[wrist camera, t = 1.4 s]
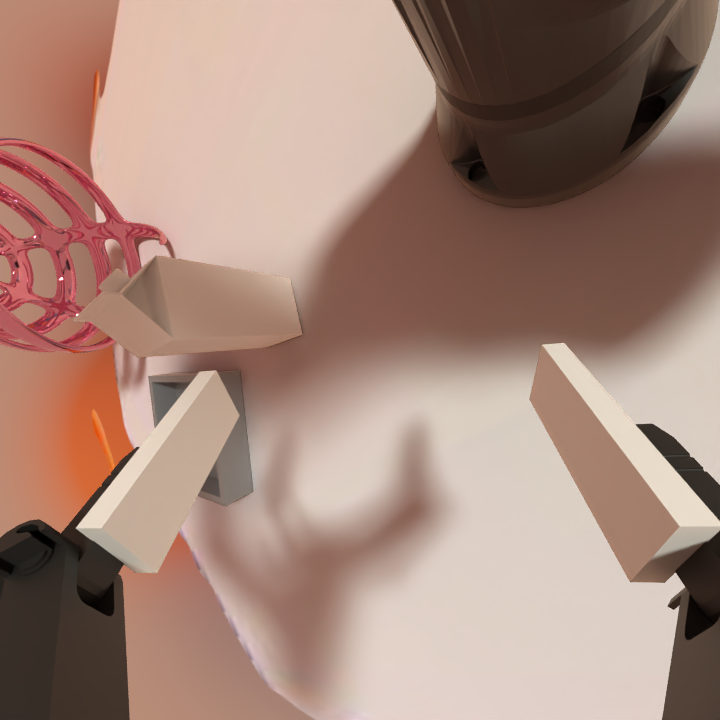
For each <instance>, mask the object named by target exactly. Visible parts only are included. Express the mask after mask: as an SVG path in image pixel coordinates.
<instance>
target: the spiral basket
mask: <svg viewBox="0 0 720 720" xmlns="http://www.w3.org/2000/svg"><path fill="white" fill-rule="evenodd" d="M0 146H13V147H19V148H22V149H25V150H28V151H31V152H33V153H35V154H37V155H39V156H42V157H43V158H45V159H47V160H49V161H51V162H52V163H53V164H55V165H57V166H58V167H59V168H61V169H62V170H63V171H65V172H66V173H67V174H69V175H70V176H71V177H72V178H73V179H75V181H77V182H78V183H79V184H80V185H81V186H82V187H83V188H84V189H85V190H86V191H87V192H88V194H89V195H90V196H91V197H92V198H93V199H94V201H95V202H96V203H97V205H98V206H99V207H100V209H101V210H102V211H103V213H104V215H105V217H106V222H104V223H97V222H94V221H93V220H92V219H90V218H89V217H88V216H87V214H86V213H85V212H84V210H83V209H82V208H81V207H80V206H79V204H78V203H77V202H76V201H75V199H74V198H73V197H72V196H71V195H70V194H69V193H68V192H67V191H66V190H65V189H64V188H63V187H62V186H61V185H60V184H59V183H57V182H56V181H55V180H54V179H53V178H51V177H50V176H49V175H47V174H46V173H45V172H43V171H42V170H40V169H39V168H37V167H36V166H34V165H32V164H31V163H29V162H28V161H26V160H24V159H21V158H20V157H18V156H16V155H13V154H11V153H9V152H6V151H4V150H0V164H1V165H4V166H6V167H8V168H10V169H12V170H14V171H16V172H18V173H19V174H21V175H23V176H24V177H26V178H28V179H29V180H31V181H32V182H33V183H35V184H36V185H37V186H39V187H40V188H41V189H43V190H44V191H45V192H46V193H47V194H48V195H49V196H51V197H52V198H53V199H54V200H55V201H56V202H57V203H58V204H59V205H60V206H61V208H62V209H63V210H64V211H65V212H66V213H67V215H68V216H69V217H70V219H71V221H72V226H71V227H69V228H65V229H62V228H58V227H56V226H54V225H53V224H52V223H51V222H50V221H49V220H48V219H47V218H46V216H45V215H44V214H43V213H42V212H41V211H40V210H39V209H38V208H37V207H36V206H34V205H33V204H32V203H31V202H30V201H29V200H27V199H26V198H25V197H24V196H22V195H21V194H19V193H18V192H16V191H15V190H13V189H12V188H10V187H8V186H7V185H5V184H3V183H1V182H0V201H1V202H3V203H4V204H6V205H7V206H9V207H10V208H12V209H13V210H14V211H15V212H17V213H18V214H19V215H20V216H21V217H23V218H24V219H25V220H26V221H27V222H28V223H29V224H30V225H31V226H32V228H33V229H34V231H35V234H34V235H33V236H31V237H29V238H24V239H20V238H16V237H15V236H13V235H12V234H11V233H10V232H9V231H8V230H7V229H6V228H5V227H4V226H2V225H1V224H0V255H2V256H5V257H6V258H7V260H8V262H9V265H10V268H11V281H10V283H4V282H1V281H0V289H1V290H2V291H3V293H2V294H1V295H0V345H3V346H6V347H10V348H14V349H18V350H24V351H31V352H63V353H84V352H91V351H95V350H99V349H102V348H105V347H108V346H110V345H112V344H114V343H115V342H116V341H115V340H114V339H112V338H111V337H110V336H109V337H107V338H106V339H105V340H103V341H101V342H99V343H97V344H94V345H90V346H79V345H81V344H83V343H84V342H86V341H88V340H89V339H91V338H92V337H93V336H94V335H95V334H96V333H97V332H98V331H99V330H100V329H99V328H98V327H96V326H95V325H94V324H92V323H91V322H85V324H84V325H83V327H82V328H81V329H80V330H79V331H77V332H76V333H75V334H73V335H72V336H70V337H69V338H67V339H65V340H62V341H59V342H58V341H55V340H53V339H50V338H48V337H46V336H44V335H43V334H46V333H48V332H50V331H52V330H53V329H55V328H56V327H57V326H59V325H60V324H61V323H62V322H63V321H64V320H66V319H67V318H70V317H76V316H77V315H78V314H79V313H80V312H81V311H82V310H83V309H84V308H85V307H83V306H79V305H77V304H76V302H75V297H76V289H77V287H76V286H77V282H76V273H75V268H74V264H73V261H72V258H71V256H70V253H69V249H68V247H69V245H70V244H71V243H75V242H79V243H83V244H84V245H86V247H87V248H88V250H89V252H90V254H91V257H92V260H93V264H94V268H95V273H96V283H97V291H96V292H97V293H96V297H97V296H98V295H99V294H100V293H101V292H102V290H100V289H99V288H98V287H99V285H100V284H101V283H102V282H103V281H104V280H105V279H106V278H107V277H108V276H109V275H110V274H111V273H112V270H111V265H110V261H109V258H108V255H107V252H106V249H105V241H106V240H107V239H114V240H116V241H117V242H118V243H119V244H120V246H121V248H122V250H123V253H124V257H125V261H126V265H127V270H128V276H129V277H130V278H131V277H132V276H133V275H134V274H135V273H137V272H138V271H139V270H140V269H141V267H140V262H139V258H138V254H137V251H136V248H135V244H134V239H135V238H137V237H152V238H158V239H160V241H159V244H160V245H164V244H166V242H167V238H166V236H165V234H164V233H163V232H162V231H161V230H160V229H158V228H156V227H154V226H151V225H147V224H141V223H132V222H128V221H126V220H125V219H124V218H123V217H122V216H121V215H120V214H119V212H118V211H117V209H116V208H115V206H114V205H113V204H112V202H111V201H110V200H109V198H108V197H107V196H106V194H105V193H104V192H103V191H102V190H101V189H100V187H99V186H98V185H97V184H96V183H95V182H94V181H93V180H92V179H91V178H90V177H89V176H88V175H87V174H85V173H84V172H83V171H82V170H81V169H80V168H78V167H77V166H76V165H75V164H73V163H72V162H70V161H69V160H68V159H66V158H64V157H63V156H61V155H59V154H58V153H56V152H54V151H52V150H50V149H48V148H46V147H44V146H41V145H39V144H36V143H33V142H30V141H26V140H22V139H18V138H12V137H2V136H0ZM34 248H44V249H46V250H47V251H48V252H49V253H50V255H51V257H52V260H53V263H54V266H55V270H56V277H57V289H56V294H55V296H54V297H53V298H44V297H41V296H38V295H36V294H35V293H34V292H33V290H32V288H33V281H34V279H33V278H34V277H33V270H32V266H31V263H30V260H29V258H28V255H27V253H28V251H29V250H31V249H34ZM24 303H32V304H35V305H38V306H40V307H42V308H44V309H45V310H46V312H45V314H44V315H43V316H42V317H41V318H39V319H38V320H36V321H34V322H32V323H30V324H27V325H26V324H25V323H23V322H22V321H20V320H19V319H18V318H17V317H16V316H15V315H13V314H12V313H11V311H13V310H15V309H17V308H19V307H20V306H21V305H23V304H24ZM8 339H20V340H22V341H24V342H27V343H29V344H23V343H18V342H15V341H11V340H8ZM30 344H31V345H30Z"/></svg>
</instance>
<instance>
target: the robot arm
mask: <svg viewBox="0 0 720 720" xmlns="http://www.w3.org/2000/svg"><path fill="white" fill-rule="evenodd" d="M392 1H393V3H394V5H395V7H396V9H397V11H398V12H399V14H400V16H401V18H402V20H403V22H404V24H405V26H406V27H407V29H408V31H409V33H410V35H411V37H412V39H413V41H414V43H415V44H416V46H417V48H418V50H419V52H420V54H421V56H422V58H423V60H424V62H425V63H426V65H427V67H428V69H429V71H430V73H431V74H432V76H433V78H434V80H435V82H436V106H437V127H438V135H439V140H440V144H441V147H442V150H443V153H444V156H445V158H446V160H447V162H448V164H449V166H450V167H451V169H452V170H453V172H454V173H455V174H456V176H457V177H458V179H459V180H460V181H461V183H462V184H463V185H464V186H465V187H466V188H467V189H468V190H469V191H471V192H472V193H473V194H475V195H476V196H478V197H480V198H482V199H484V200H486V201H488V202H491V203H494V204H497V205H502V206H508V207H535V206H542V205H547V204H552V203H556V202H559V201H562V200H565V199H568V198H571V197H574V196H576V195H578V194H581V193H583V192H585V191H587V190H589V189H591V188H593V187H595V186H597V185H598V184H600V183H602V182H603V181H605V180H607V179H608V178H610V177H611V176H613V175H614V174H616V173H617V172H618V171H620V170H621V169H623V168H624V167H625V166H626V165H628V164H629V163H630V162H631V161H633V160H634V159H635V158H636V157H637V156H638V155H639V154H640V153H641V152H642V151H643V150H644V149H646V148H647V147H648V146H649V145H650V144H651V142H652V141H653V140H654V139H655V138H656V137H657V136H658V135H659V134H660V132H661V131H662V130H663V129H664V127H665V126H666V125H667V124H668V122H669V121H670V119H671V118H672V117H673V115H674V114H675V112H676V111H677V109H678V107H679V106H680V104H681V103H682V101H683V99H684V97H685V95H686V94H687V92H688V90H689V88H690V86H691V84H692V82H693V81H694V79H695V77H696V75H697V73H698V71H699V69H700V67H701V65H702V63H703V60H704V58H705V56H706V53H707V50H708V48H709V45H710V41H711V38H712V35H713V31H714V27H715V22H716V18H717V11H718V0H392ZM530 401H531V403H532V405H533V407H534V408H535V410H536V412H537V414H538V416H539V418H540V419H541V421H542V423H543V425H544V427H545V428H546V430H547V432H548V434H549V436H550V438H551V439H552V441H553V443H554V445H555V447H556V448H557V450H558V452H559V454H560V456H561V458H562V459H563V461H564V463H565V465H566V467H567V468H568V470H569V472H570V474H571V476H572V477H573V479H574V481H575V483H576V485H577V487H578V488H579V490H580V492H581V494H582V496H583V497H584V499H585V501H586V503H587V505H588V507H589V508H590V510H591V512H592V514H593V516H594V517H595V519H596V521H597V523H598V525H599V526H600V528H601V530H602V532H603V534H604V536H605V537H606V539H607V541H608V543H609V545H610V546H611V548H612V550H613V552H614V554H615V556H616V557H617V559H618V561H619V563H620V565H621V566H622V568H623V570H624V572H625V574H626V575H627V577H628V579H629V581H630V582H659V583H665V582H666V581H667V580H668V579H669V578H670V577H671V576H672V575H673V574H674V573H675V572H676V573H677V575H678V576H679V578H680V579H681V581H682V582H683V584H684V585H685V588H684V589H683V590H682V591H680V592H679V593H678V594H677V595H676V596H675V597H673V598H672V599H671V601H670V603H669V604H668V607H670V608H671V609H673V610H674V609H675V608H677V607H678V606H679V605H680V607H679V613H678V620H677V626H676V633H675V639H674V646H673V652H672V659H671V666H670V672H669V679H668V685H667V692H666V698H665V705H664V711H663V718H662V720H720V485H719V484H718V483H717V482H716V481H715V480H714V479H713V478H712V477H711V476H710V474H709V473H708V472H705V471H704V470H703V467H702V466H701V465H700V464H699V463H698V462H697V461H696V460H695V459H694V458H693V457H690V454H689V453H688V452H687V451H686V450H685V449H684V447H683V446H682V445H681V444H680V443H679V442H678V441H677V440H676V439H675V438H674V437H672V436H671V435H669V434H668V433H666V432H665V431H663V430H661V429H660V428H658V427H657V426H655V425H654V424H635V423H634V422H633V421H632V420H631V419H630V418H629V417H628V415H627V414H626V413H625V412H624V411H623V410H622V409H621V407H620V406H619V405H618V404H617V403H616V402H615V401H614V399H613V398H612V397H611V396H610V395H609V394H608V393H607V391H606V390H605V389H604V388H603V387H602V386H601V385H600V383H599V382H598V381H597V380H596V379H595V378H594V376H593V375H592V374H591V373H590V372H589V371H588V370H587V368H586V367H585V366H584V365H583V364H582V363H581V362H580V360H579V359H578V358H577V357H576V356H575V355H574V354H573V352H572V351H571V350H570V349H569V348H568V347H567V346H566V344H565V343H556V344H544V345H542V347H541V351H540V355H539V360H538V364H537V368H536V373H535V377H534V381H533V386H532V390H531V394H530ZM239 416H240V415H239V413H238V411H237V409H236V408H235V406H234V404H233V402H232V400H231V398H230V396H229V394H228V392H227V390H226V388H225V386H224V384H223V382H222V380H221V379H220V377H219V375H218V373H217V371H216V370H213V371H200V372H199V373H198V375H197V376H196V377H195V378H194V380H193V381H192V382H191V383H190V385H189V386H188V387H187V388H186V390H185V391H184V392H183V394H182V395H181V396H180V397H179V399H178V400H177V401H176V402H175V404H174V405H173V406H172V407H171V409H170V410H169V411H168V412H167V414H166V415H165V416H164V417H163V419H162V420H161V421H160V423H159V424H158V425H157V426H156V428H155V429H154V430H153V431H152V433H151V434H150V435H149V436H148V438H147V439H146V440H145V441H144V443H143V444H142V445H141V446H140V447H136V448H135V449H134V450H133V451H132V452H130V453H129V454H128V455H127V456H125V457H124V458H123V459H122V460H121V461H120V462H119V464H118V465H117V466H116V467H115V468H114V470H113V471H112V472H111V475H110V476H108V477H107V478H106V479H105V481H104V482H103V483H102V486H101V487H99V488H98V489H97V491H96V492H95V493H94V494H93V495H92V497H91V498H90V499H89V500H88V501H87V503H86V504H85V505H84V506H83V508H82V509H81V510H80V511H79V512H78V514H77V515H76V516H75V517H74V519H73V520H72V521H71V522H70V523H69V525H68V526H67V527H66V528H65V530H64V531H63V532H62V533H61V534H60V533H59V532H57V531H56V530H55V529H53V528H52V527H51V526H49V525H47V524H46V523H45V522H43V521H41V520H39V519H38V520H31V521H27V522H25V523H23V524H20V525H18V526H16V527H15V528H13V529H12V530H10V531H8V532H7V533H5V534H4V535H3V536H2V537H1V538H0V720H129V698H128V679H127V659H126V639H125V617H124V598H123V581H122V578H121V576H120V575H119V574H118V573H119V571H120V569H121V567H122V566H123V565H125V566H127V567H128V568H130V569H131V570H132V571H134V572H137V573H157V572H158V570H159V568H160V566H161V564H162V562H163V560H164V558H165V557H166V555H167V553H168V551H169V549H170V547H171V545H172V543H173V541H174V540H175V538H176V536H177V534H178V532H179V530H180V528H181V526H182V524H183V522H184V521H185V519H186V517H187V515H188V513H189V511H190V509H191V507H192V505H193V503H194V501H195V500H196V498H197V496H198V494H199V492H200V490H201V488H202V486H203V484H204V482H205V480H206V479H207V477H208V475H209V473H210V471H211V469H212V467H213V465H214V463H215V461H216V460H217V458H218V456H219V454H220V452H221V450H222V448H223V446H224V444H225V442H226V440H227V439H228V437H229V435H230V433H231V431H232V429H233V427H234V425H235V423H236V421H237V420H238V418H239Z"/></svg>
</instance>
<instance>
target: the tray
mask: <svg viewBox="0 0 720 720" xmlns="http://www.w3.org/2000/svg"><path fill="white" fill-rule="evenodd" d="M198 373H199V372H181V373H170V374H162V375H154V376H148V378H149V386H150V394H151V402H152V410H153V417H154V425H155V428H156V426H157V425H158V424H159V423H160V421H161V420H162V419H163V417H164V416H165V415H166V414H167V412H168V411H169V410H170V409H171V407H172V406H173V405H174V404H175V402H176V401H177V400H178V399H179V397H180V396H181V395H182V394H183V392H184V391H185V390H186V388H187V387H188V386H189V385H190V383H191V382H192V381H193V380H194V378H195V377H196V376H197V375H198ZM217 373H218V375H219V377H220V379H221V380H222V382H223V384H224V386H225V388H226V390H227V392H228V394H229V396H230V398H231V400H232V402H233V404H234V406H235V408H236V409H237V411H238V413H239V415H240V416H239V418H238V420H237V421H236V423H235V425H234V427H233V429H232V431H231V433H230V435H229V437H228V439H227V440H226V442H225V444H224V446H223V448H222V450H221V452H220V454H219V456H218V458H217V460H216V461H215V463H214V465H213V467H212V469H211V471H210V473H209V475H208V477H207V479H206V480H205V482H204V484H203V486H202V488H201V490H200V492H199V494H198V496H199V497H202V498H205V499H207V500H210V501H213V502H216V503H218V504H221V505H224V506H227V505H229V504H231V503H233V502H234V501H236V500H238V499H240V498H242V497H244V496H246V495H247V494H249V493H251V492H253V484H252V475H251V466H250V457H249V448H248V439H247V429H246V420H245V411H244V402H243V393H242V384H241V374H240V371H217Z"/></svg>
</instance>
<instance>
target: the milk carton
mask: <svg viewBox="0 0 720 720" xmlns="http://www.w3.org/2000/svg"><path fill="white" fill-rule="evenodd" d="M98 288H99V289H100V290H102V292H101V293H100V294H99V295H98V296H97V297H96V298H95V299H94V300H93V301H92V302H91V303H90V304H89V305H88V306H86V307H85V308H84V309H83V310H82V311H81V312H80V313H79V314H78V315H77V316H76V317H75V318H74V319H73V320H74V322H91V323H92V324H94V325H95V326H96V327H98V328H99V329H100V330H102V331H103V332H104V333H106V334H107V335H108V336H110V337H111V338H112V339H114V340H115V341H116V342H117V343H119V344H120V345H121V346H123V347H124V348H125V349H127V350H128V351H129V352H131V353H132V354H133V355H135V356H136V357H138V358H139V357H152V356H164V355H177V354H190V353H203V352H215V351H228V350H241V349H254V348H266V347H269V346H272V345H275V344H278V343H280V342H283V341H286V340H289V339H292V338H295V337H297V336H300V335H302V330H301V325H300V320H299V316H298V312H297V307H296V303H295V298H294V294H293V289H292V285H291V281H290V278H287V277H281V276H276V275H270V274H264V273H258V272H252V271H246V270H240V269H235V268H229V267H223V266H217V265H211V264H205V263H199V262H194V261H188V260H182V259H176V258H170V257H164V256H155V257H154V258H153V259H151V260H150V261H149V262H148V263H147V264H146V265H144V266H143V267H142V268H141V269H140V270H139V271H138V272H137V273H135V274H134V275H133V276H132V277H131V278H130V277H129V276H128V275H127V274H125V273H124V272H123V271H121V270H120V269H118V268H117V269H115V270H114V271H113V272H112V273H111V274H110V275H109V276H108V277H107V278H106V279H105V280H104V281H103V282H102V283H101V284H100V285H99V287H98Z"/></svg>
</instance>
